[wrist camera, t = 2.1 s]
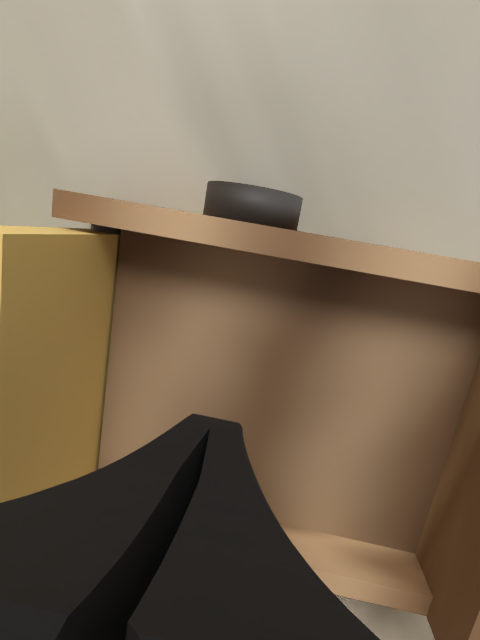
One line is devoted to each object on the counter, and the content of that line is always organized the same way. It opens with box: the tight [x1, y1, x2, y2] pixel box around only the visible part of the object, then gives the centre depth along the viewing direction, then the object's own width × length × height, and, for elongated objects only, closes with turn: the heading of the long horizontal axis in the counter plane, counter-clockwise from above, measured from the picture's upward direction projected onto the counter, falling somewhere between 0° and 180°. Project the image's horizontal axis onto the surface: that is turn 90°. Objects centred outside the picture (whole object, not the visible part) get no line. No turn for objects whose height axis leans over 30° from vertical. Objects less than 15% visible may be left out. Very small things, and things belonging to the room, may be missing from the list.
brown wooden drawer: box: [52, 181, 480, 640], centre depth 13 cm, size 15×14×5 cm
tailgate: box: [0, 224, 121, 503], centre depth 12 cm, size 1×10×6 cm, turn 170°
